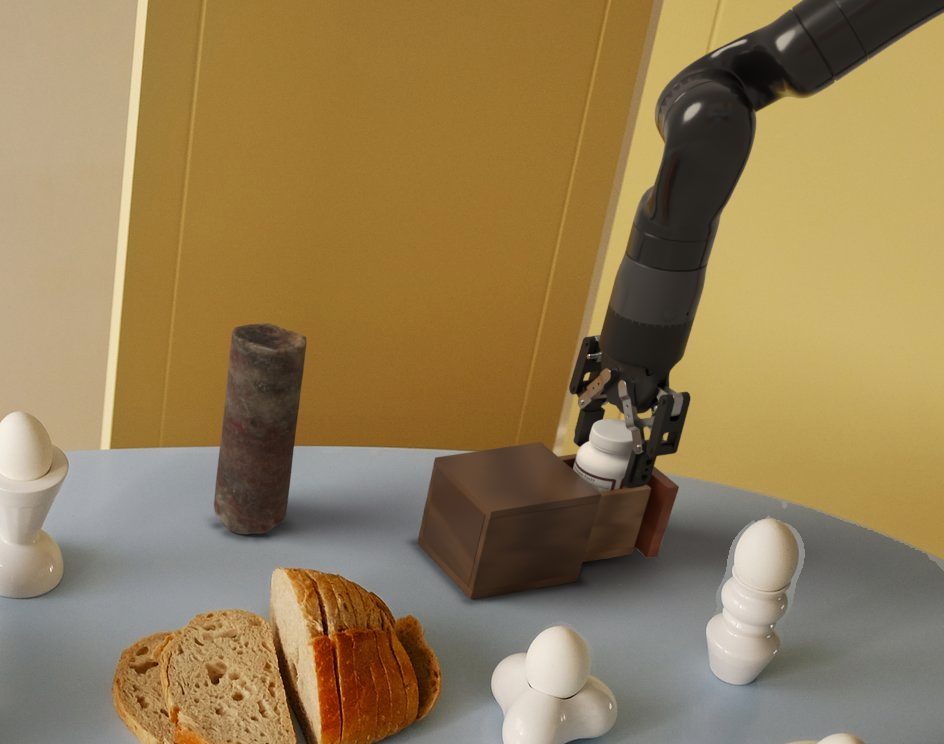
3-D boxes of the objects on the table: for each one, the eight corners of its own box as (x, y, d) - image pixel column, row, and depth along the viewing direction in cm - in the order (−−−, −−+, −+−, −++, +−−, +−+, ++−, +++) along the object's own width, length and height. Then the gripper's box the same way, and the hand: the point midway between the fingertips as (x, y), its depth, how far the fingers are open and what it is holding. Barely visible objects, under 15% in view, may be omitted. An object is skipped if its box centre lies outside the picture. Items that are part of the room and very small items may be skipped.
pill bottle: (609, 513, 176) (638, 413, 169) (633, 545, 171) (663, 444, 164) (549, 515, 176) (575, 415, 169) (570, 548, 171) (598, 446, 164)
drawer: (614, 508, 179) (634, 439, 174) (668, 555, 172) (690, 484, 167) (512, 524, 176) (529, 454, 171) (563, 572, 169) (582, 501, 164)
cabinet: (519, 526, 178) (541, 441, 172) (577, 581, 170) (601, 494, 164) (416, 543, 175) (434, 457, 169) (470, 599, 167) (491, 511, 161)
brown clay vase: (198, 506, 180) (219, 322, 168) (261, 493, 182) (286, 311, 170) (234, 542, 175) (258, 355, 162) (298, 529, 177) (327, 343, 164)
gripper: (737, 332, 154) (686, 495, 164) (643, 268, 165) (601, 425, 175) (663, 342, 152) (616, 506, 163) (573, 277, 163) (534, 435, 173)
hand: (608, 464), depth 169 cm, fingers open, 8 cm apart
